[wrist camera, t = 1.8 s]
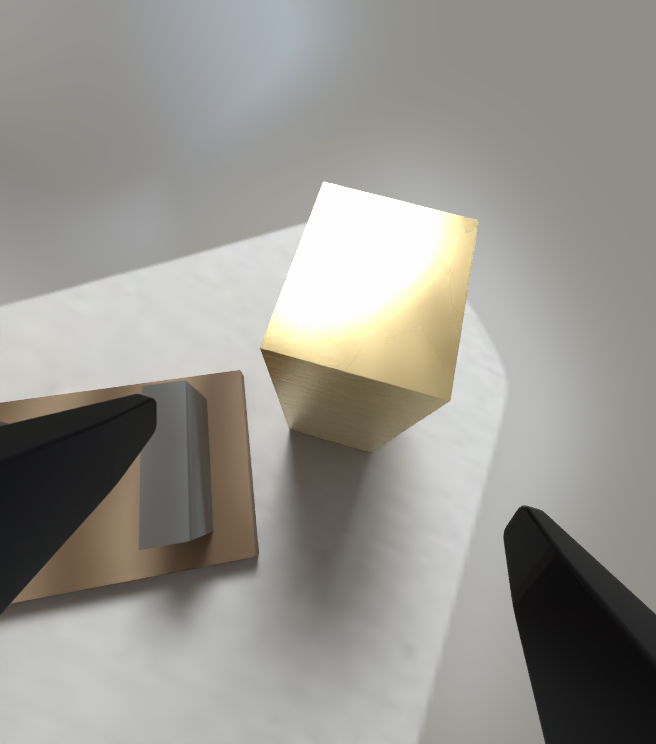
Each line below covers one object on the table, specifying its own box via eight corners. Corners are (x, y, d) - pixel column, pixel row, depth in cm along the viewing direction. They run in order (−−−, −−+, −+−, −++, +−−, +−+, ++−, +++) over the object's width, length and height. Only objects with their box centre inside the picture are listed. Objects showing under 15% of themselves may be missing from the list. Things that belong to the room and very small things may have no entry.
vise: (243, 375, 21) (225, 346, 17) (258, 553, 18) (241, 572, 13) (-47, 415, 19) (-148, 394, 15) (-88, 619, 16) (-233, 665, 12)
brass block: (370, 452, 20) (450, 400, 8) (289, 429, 20) (260, 347, 9) (391, 361, 22) (478, 220, 10) (317, 341, 22) (323, 181, 11)
